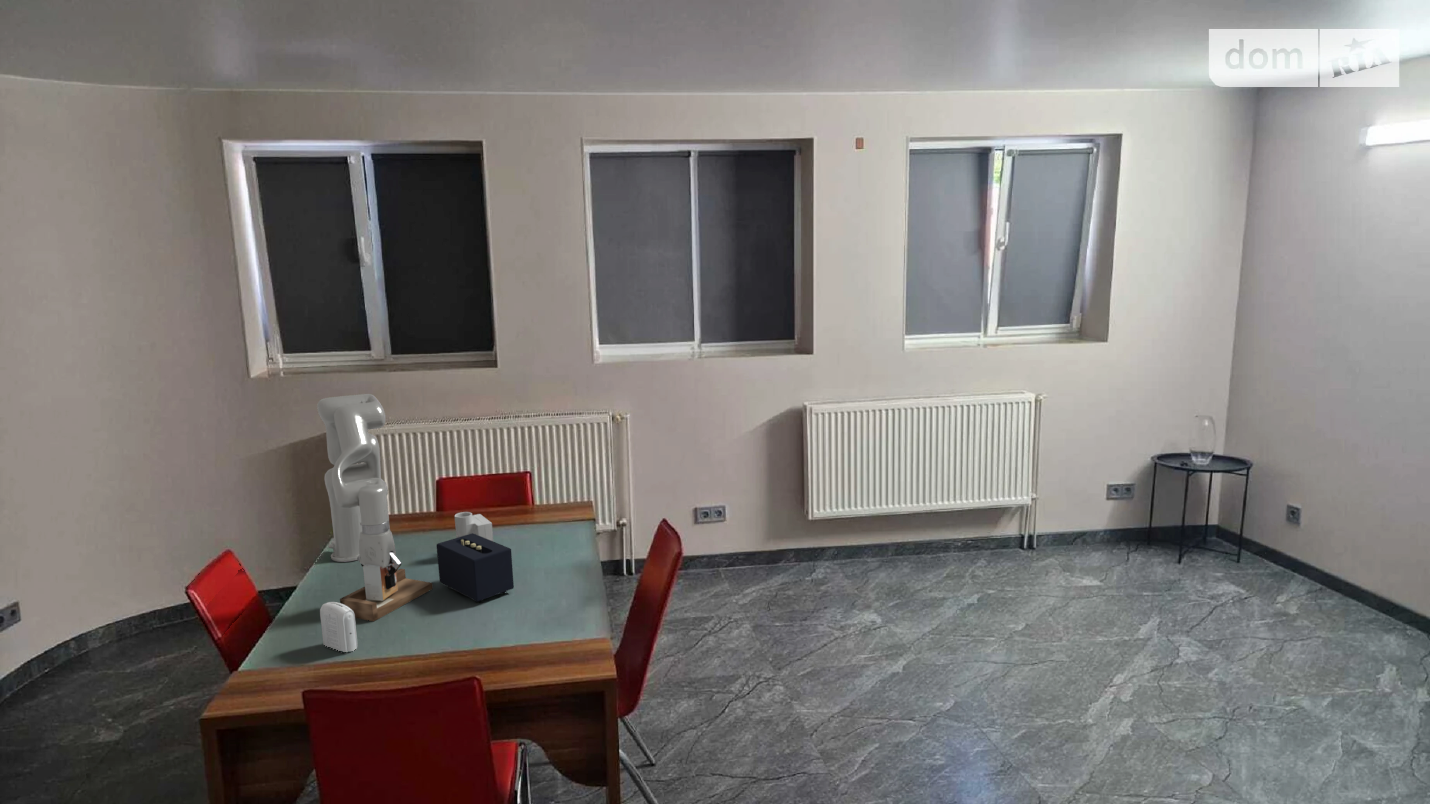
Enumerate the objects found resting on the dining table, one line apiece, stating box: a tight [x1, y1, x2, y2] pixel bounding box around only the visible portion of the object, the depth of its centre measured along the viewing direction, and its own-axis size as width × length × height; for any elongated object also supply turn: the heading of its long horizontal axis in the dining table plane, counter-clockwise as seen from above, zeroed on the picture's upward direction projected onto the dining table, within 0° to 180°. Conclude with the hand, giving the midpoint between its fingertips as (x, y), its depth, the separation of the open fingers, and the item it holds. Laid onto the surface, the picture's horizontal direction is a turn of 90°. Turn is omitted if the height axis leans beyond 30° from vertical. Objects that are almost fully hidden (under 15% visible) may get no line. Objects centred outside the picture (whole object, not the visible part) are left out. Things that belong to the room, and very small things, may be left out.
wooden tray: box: [339, 568, 433, 622], centre depth 245 cm, size 12×24×5 cm, turn 157°
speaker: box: [436, 533, 515, 604], centre depth 252 cm, size 22×13×15 cm, turn 47°
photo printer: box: [319, 601, 358, 652], centre depth 217 cm, size 10×4×12 cm, turn 61°
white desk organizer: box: [454, 511, 494, 542], centre depth 280 cm, size 12×14×15 cm
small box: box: [362, 564, 398, 601], centre depth 243 cm, size 8×6×10 cm
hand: (381, 585), depth 243 cm, fingers closed on small box, 6 cm apart
